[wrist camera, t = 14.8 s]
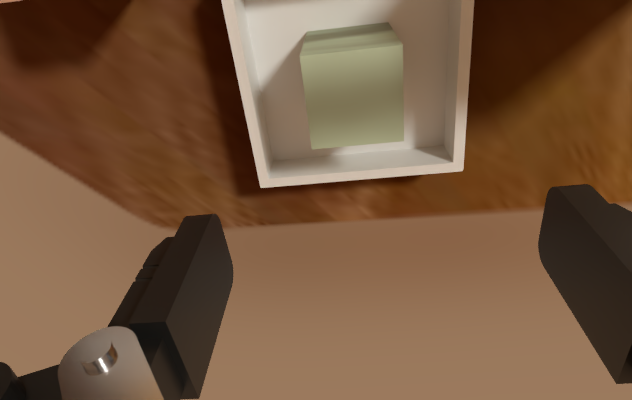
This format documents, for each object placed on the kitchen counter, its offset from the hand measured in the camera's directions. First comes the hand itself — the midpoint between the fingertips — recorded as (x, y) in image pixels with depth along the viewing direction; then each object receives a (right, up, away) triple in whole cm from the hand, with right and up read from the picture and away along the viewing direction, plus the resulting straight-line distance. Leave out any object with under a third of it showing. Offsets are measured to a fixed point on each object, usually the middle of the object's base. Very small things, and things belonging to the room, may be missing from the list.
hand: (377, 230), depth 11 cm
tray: (+1, +9, +15) cm, 17 cm away
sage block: (0, +8, +14) cm, 17 cm away
